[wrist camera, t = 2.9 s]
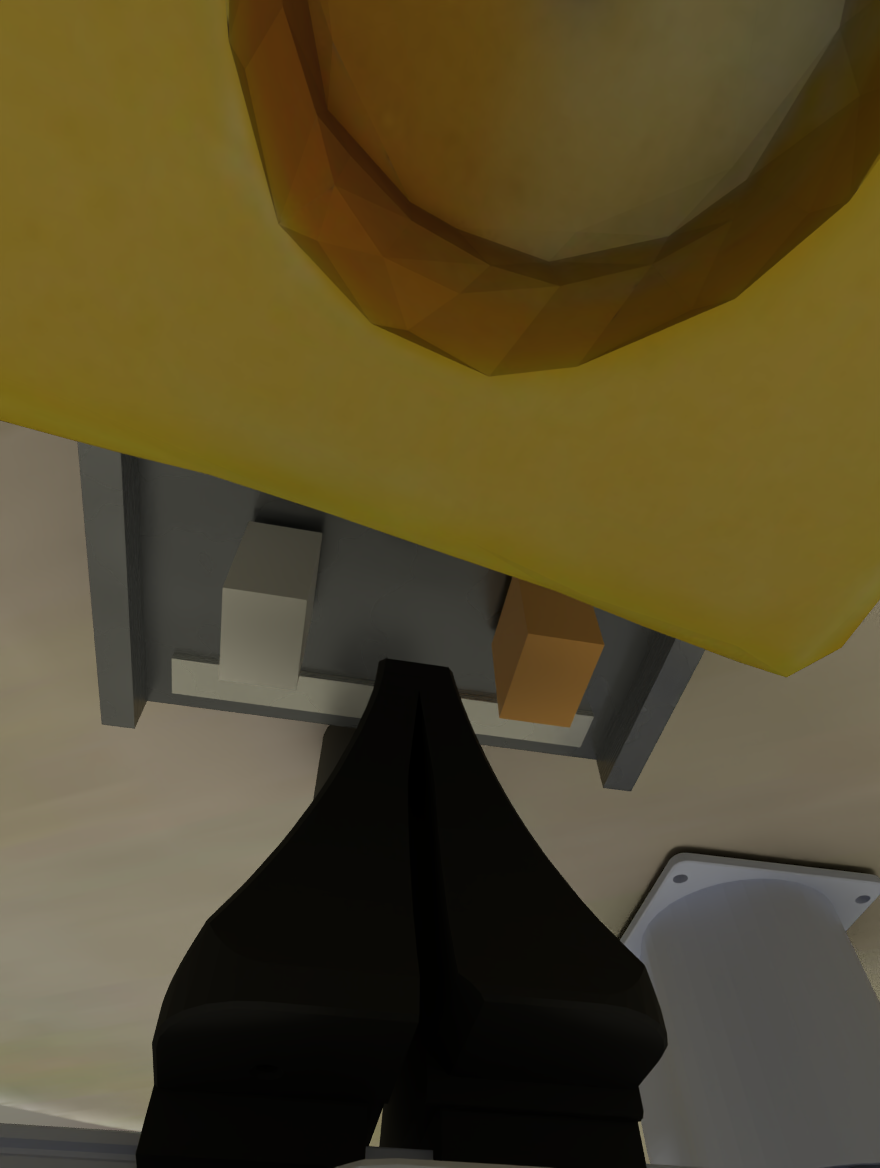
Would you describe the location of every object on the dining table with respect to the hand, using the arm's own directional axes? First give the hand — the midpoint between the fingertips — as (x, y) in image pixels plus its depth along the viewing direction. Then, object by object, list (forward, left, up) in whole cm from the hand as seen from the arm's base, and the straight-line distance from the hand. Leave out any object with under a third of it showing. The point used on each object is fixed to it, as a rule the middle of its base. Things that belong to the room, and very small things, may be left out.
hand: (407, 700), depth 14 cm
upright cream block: (0, +3, -4) cm, 5 cm away
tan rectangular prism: (0, -3, -4) cm, 5 cm away
